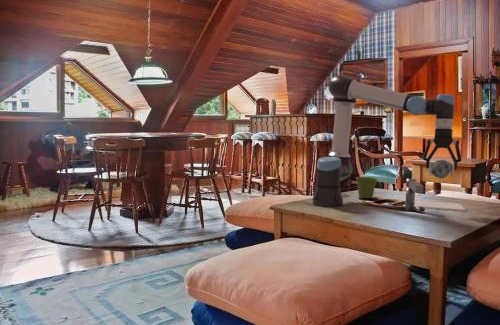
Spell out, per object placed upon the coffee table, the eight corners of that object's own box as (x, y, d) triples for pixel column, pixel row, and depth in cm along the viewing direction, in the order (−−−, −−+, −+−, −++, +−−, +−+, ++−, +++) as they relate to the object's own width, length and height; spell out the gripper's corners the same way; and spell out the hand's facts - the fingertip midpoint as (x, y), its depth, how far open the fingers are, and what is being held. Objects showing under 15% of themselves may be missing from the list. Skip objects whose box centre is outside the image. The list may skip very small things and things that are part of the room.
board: (416, 207, 222) (417, 206, 222) (414, 202, 239) (414, 200, 239) (465, 211, 216) (465, 209, 216) (459, 205, 233) (459, 203, 233)
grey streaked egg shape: (453, 172, 201) (444, 152, 205) (432, 180, 205) (424, 160, 209) (458, 177, 212) (449, 158, 216) (438, 185, 216) (429, 166, 220)
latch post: (405, 210, 214) (406, 187, 213) (404, 208, 218) (406, 186, 217) (414, 211, 213) (415, 188, 212) (413, 209, 217) (414, 187, 216)
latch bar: (405, 185, 217) (405, 178, 217) (414, 186, 216) (415, 179, 216) (413, 193, 194) (414, 185, 193) (424, 193, 193) (425, 185, 192)
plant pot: (379, 200, 242) (380, 179, 241) (357, 199, 242) (358, 179, 241) (373, 196, 254) (374, 177, 253) (352, 196, 254) (353, 176, 253)
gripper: (419, 127, 208) (416, 175, 210) (471, 128, 202) (467, 178, 204) (417, 127, 215) (414, 173, 217) (468, 128, 210) (464, 176, 211)
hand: (440, 176), depth 211 cm, fingers closed on grey streaked egg shape, 9 cm apart
